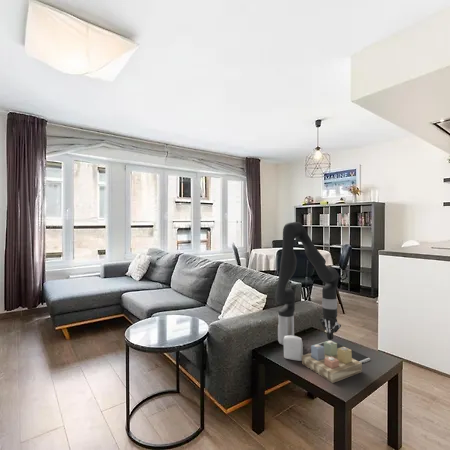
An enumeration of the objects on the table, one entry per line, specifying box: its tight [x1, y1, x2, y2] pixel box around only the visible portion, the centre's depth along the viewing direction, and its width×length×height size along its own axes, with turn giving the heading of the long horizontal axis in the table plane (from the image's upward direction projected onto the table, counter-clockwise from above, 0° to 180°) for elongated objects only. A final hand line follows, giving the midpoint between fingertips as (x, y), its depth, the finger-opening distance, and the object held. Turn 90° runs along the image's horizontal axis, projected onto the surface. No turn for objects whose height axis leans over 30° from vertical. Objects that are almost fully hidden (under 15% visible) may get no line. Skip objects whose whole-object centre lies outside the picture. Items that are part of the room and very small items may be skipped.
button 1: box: [310, 343, 325, 361], centre depth 146 cm, size 5×5×6 cm
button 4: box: [337, 346, 353, 364], centre depth 143 cm, size 5×5×6 cm
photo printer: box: [283, 335, 304, 362], centre depth 155 cm, size 10×4×12 cm, turn 66°
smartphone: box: [318, 341, 371, 364], centre depth 161 cm, size 13×27×2 cm, turn 29°
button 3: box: [324, 356, 339, 369], centre depth 138 cm, size 5×5×6 cm
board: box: [301, 351, 363, 384], centre depth 145 cm, size 20×20×4 cm
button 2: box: [323, 339, 338, 357], centre depth 151 cm, size 5×5×6 cm
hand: (330, 339), depth 150 cm, fingers closed
